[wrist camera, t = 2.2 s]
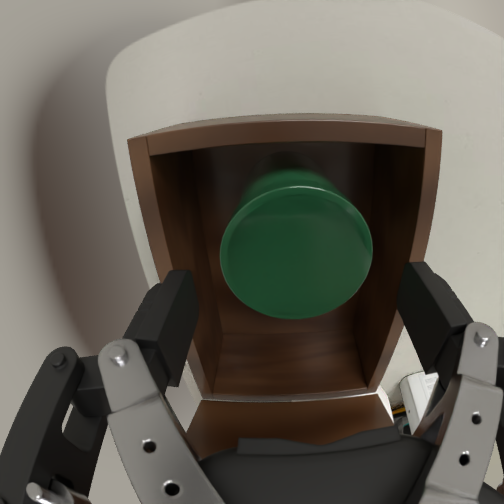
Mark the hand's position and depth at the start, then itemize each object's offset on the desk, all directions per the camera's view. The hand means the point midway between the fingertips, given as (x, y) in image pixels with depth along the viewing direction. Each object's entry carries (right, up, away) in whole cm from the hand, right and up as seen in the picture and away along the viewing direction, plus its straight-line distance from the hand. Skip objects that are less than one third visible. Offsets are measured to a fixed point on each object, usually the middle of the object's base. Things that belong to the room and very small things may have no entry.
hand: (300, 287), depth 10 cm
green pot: (+1, +5, +9) cm, 11 cm away
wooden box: (+1, +2, +12) cm, 12 cm away
